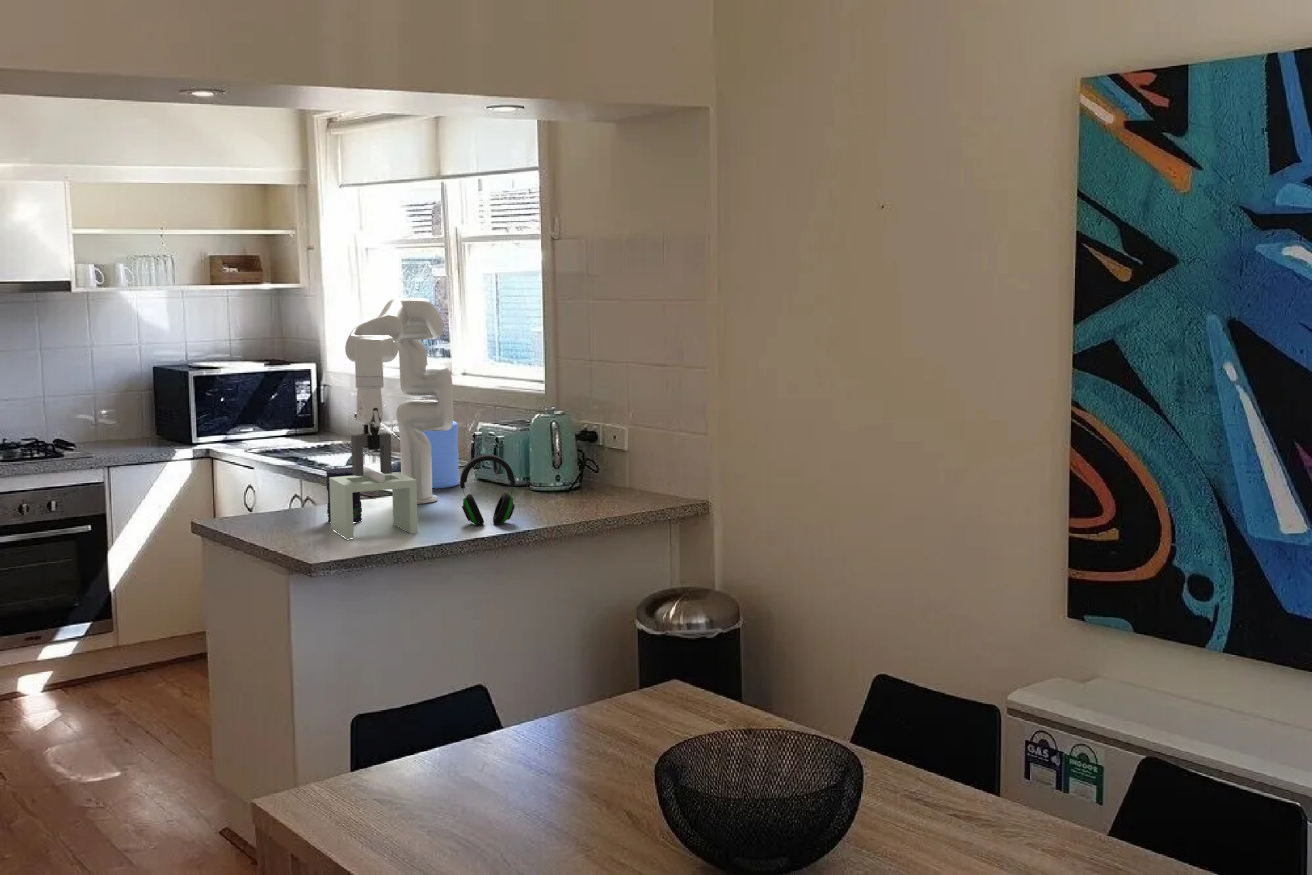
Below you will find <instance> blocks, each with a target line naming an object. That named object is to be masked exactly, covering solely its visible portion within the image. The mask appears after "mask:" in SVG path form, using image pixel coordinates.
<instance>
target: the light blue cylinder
mask: <svg viewBox="0 0 1312 875" xmlns="http://www.w3.org/2000/svg"><path fill="white" fill-rule="evenodd" d="M458 426H459V424H458V422H456V421H454V420H453V425H452V427H451V428H450V429H449V430H447V431H423V433H424V434H425V435H426V437H427V438H428V439H429V441H430V443H431V457H432V488H434V489H446V488H452V487H456V486H458V485H460V475H459V470H460V469H459V458H460V456H459V455H460V454H459V428H458Z"/></svg>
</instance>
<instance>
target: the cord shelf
mask: <svg viewBox="0 0 1312 875" xmlns="http://www.w3.org/2000/svg"><path fill="white" fill-rule="evenodd" d="M363 473H364V476H355V475H354V476H341V477H329V484H330V513H331V524H330V530H331V529H332V530H335V531H336V532H337V533H339V534H340V535H342V536H344V537H345V538H346V539H350V538H354V539H355V536H354V534H355V533H354V531H355V530H354V528H355V527H354V524H353V497H352V492H360V493H363V492H375V491H385V490H386V491H387V490H388V491H389V490H392V491H391V492H392V493H391V494H392V522H393V523H392V524H393V525H394V524H395V525H394V526H396V527H397V526H399V527H401V528H402V529H401V528H400V529H401V530H403V529H404V530H403V531H405V530H406V531H408V532H409V533H408V532H407V533H408V534H410V533H416V534H418V528H419V527H418V504H417V487H416V480H415V479H413V478H411V477H409V476H406V475H404V474H402V473H401V471H396V472H393V471H392V473H391V474H384V473H381V472H379V471H377V470H375V469H372V468H370V467H367V466H366V465H365V466H364V465H363ZM399 527H398V528H399ZM332 530H331V531H332ZM406 531H405V532H406Z"/></svg>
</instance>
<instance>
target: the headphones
mask: <svg viewBox="0 0 1312 875" xmlns="http://www.w3.org/2000/svg"><path fill="white" fill-rule="evenodd" d="M485 461H487V462H488V461H491V462H496V463H498V464H500V465H501V466H502V468H503V469H504V470H505V473H506V476H507V479H508V480H509V486H510V487H511V490H510V493H508V492H503V493H502V494H501V496H500V497H499V498H498V501H497V504H496V506H495V510H494V511H493V512H494V513H493V515H492V516H493V517H492V522H493V523H494V524H495V525H499V524H501V525H504V524H505V522H506V521H508V520H510V519H511V517H512V515H513V513H514V509H515V507H516V506H515V504H514V497H513V496H512V493H513V490H514V487H515V486H516V480H515V474H514V472H513V470H512V467H511V466H510V465H509V463H508V462H507V461H506V460H504V458H502V457H500V456H497V455H495V454H487V453H485V454H481V455H476V456H474V457H473V458H472V459H470V460H468V462H466V464H465V465H464V467H463V469H462V470H461V474H460V477H459V486H460V489H462V492H463V494H464V497H465V498H463V499H462V501H463V502H462V505H461V509H462V510H463V512H464V515H465V517H466V519H467V521H468V522H470V523H472V524H473V525H474V526H477V525H480V526H481V525H483V524H484V523H485V520H484V518H483V515H482V513H481V511H480V509H479V506H478V505H477V502H476V499H475V498H474V496H473V494H472V493H469V494H467V495H466V494H465V490H464V489H465V488H466V486H465V483H467V482H468V476H469V473H470V471H471V470H472V469H473V467H474V466H476V465H477V464H479V463H482V462H485Z"/></svg>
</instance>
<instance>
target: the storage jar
mask: <svg viewBox="0 0 1312 875" xmlns="http://www.w3.org/2000/svg"><path fill="white" fill-rule="evenodd" d="M325 474H326V480H325V481H326V482H325V483H326V491H327V509H326V510H327V512H326V513H327V517H328V519H327V523H328V522H331V513H330V484H329V477H341V476H354V475H353V474H352V467H339V468H337V467H336V468H331V469H327V470H326V471H325ZM352 497H353V522H359V521H361V520H362V521H363V519H362V515H363V508H362V501H361V492H352ZM362 521H361V522H362ZM359 523H360V522H359Z"/></svg>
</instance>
